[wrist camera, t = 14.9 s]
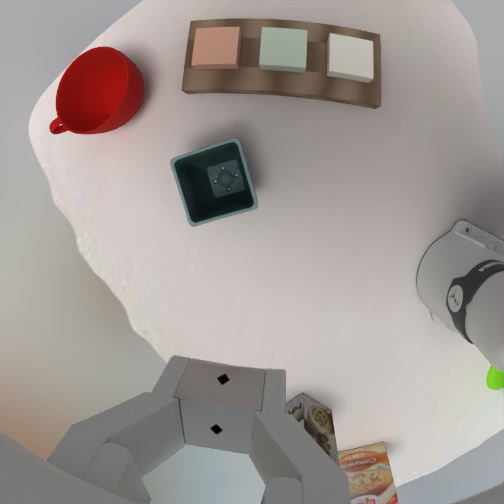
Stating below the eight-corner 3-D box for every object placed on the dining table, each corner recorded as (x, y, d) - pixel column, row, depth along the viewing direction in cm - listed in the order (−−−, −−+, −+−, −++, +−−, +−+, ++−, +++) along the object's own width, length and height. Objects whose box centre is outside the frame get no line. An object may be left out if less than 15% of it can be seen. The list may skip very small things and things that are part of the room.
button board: (375, 40, 34) (380, 34, 31) (375, 108, 37) (380, 105, 35) (195, 27, 36) (190, 21, 33) (187, 93, 39) (181, 90, 37)
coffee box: (279, 407, 54) (276, 471, 39) (302, 391, 52) (305, 457, 37) (310, 425, 55) (313, 485, 40) (333, 410, 53) (341, 472, 38)
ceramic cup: (68, 105, 41) (32, 99, 31) (142, 49, 37) (113, 29, 28) (90, 163, 44) (52, 166, 34) (170, 110, 40) (141, 98, 31)
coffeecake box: (384, 440, 56) (399, 503, 37) (382, 454, 58) (395, 513, 39) (324, 453, 58) (329, 518, 40) (326, 466, 60) (330, 527, 41)
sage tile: (305, 43, 35) (307, 30, 30) (303, 78, 37) (305, 67, 32) (264, 40, 35) (261, 27, 31) (261, 74, 37) (259, 64, 32)
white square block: (364, 52, 34) (372, 41, 30) (364, 87, 36) (373, 78, 31) (325, 45, 35) (329, 33, 30) (324, 80, 36) (329, 70, 32)
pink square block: (244, 39, 36) (239, 26, 31) (240, 74, 37) (235, 63, 33) (204, 40, 36) (196, 28, 31) (200, 74, 38) (191, 65, 33)
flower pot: (264, 199, 43) (259, 208, 34) (207, 215, 44) (189, 228, 36) (247, 141, 41) (238, 136, 32) (190, 159, 42) (168, 159, 34)
